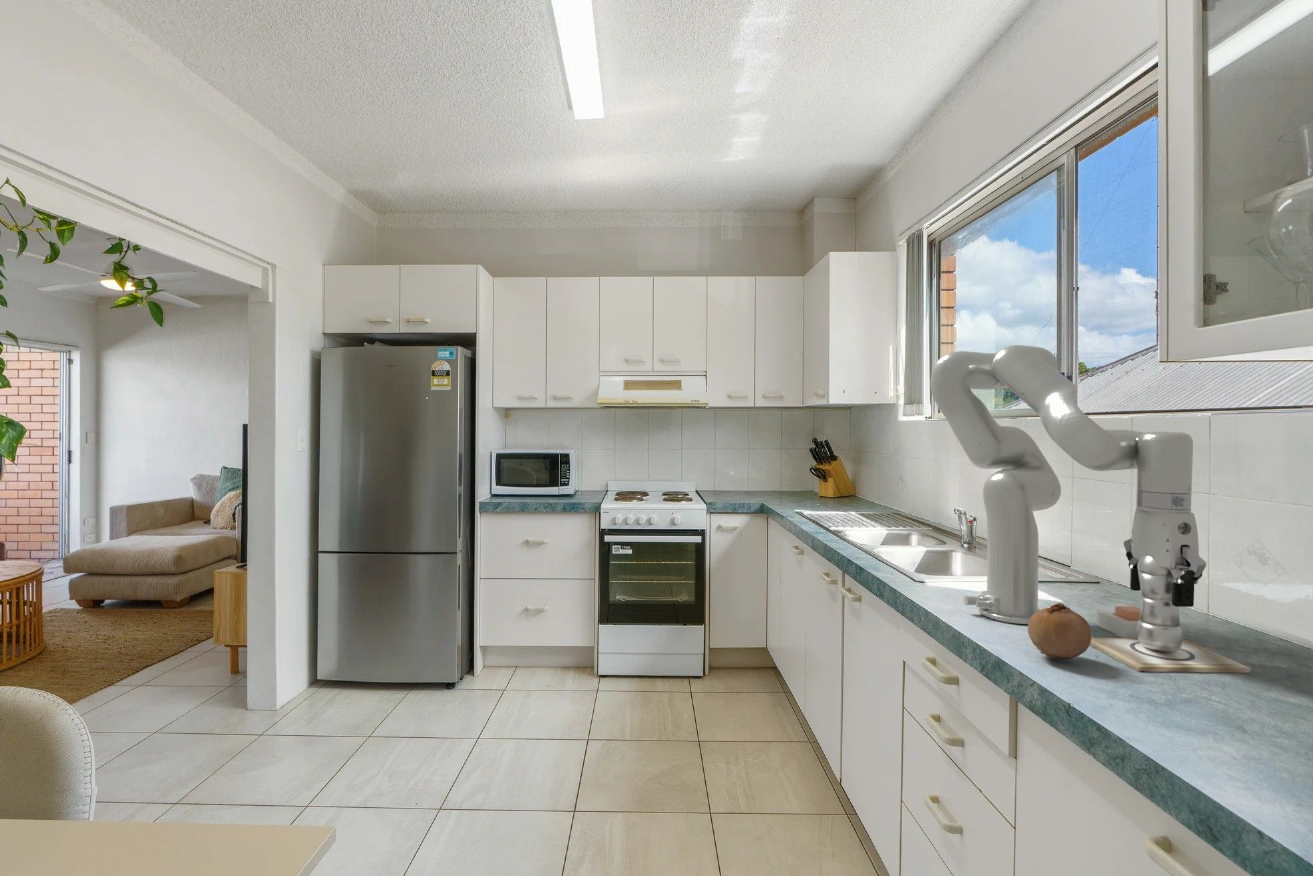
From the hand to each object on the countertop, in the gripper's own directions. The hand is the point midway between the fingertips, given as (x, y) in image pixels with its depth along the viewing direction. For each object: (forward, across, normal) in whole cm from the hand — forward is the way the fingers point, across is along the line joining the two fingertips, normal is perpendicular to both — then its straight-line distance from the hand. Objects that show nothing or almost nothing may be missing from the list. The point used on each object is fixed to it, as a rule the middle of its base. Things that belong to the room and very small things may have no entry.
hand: (1160, 597), depth 111 cm
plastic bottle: (+10, 0, 0) cm, 10 cm away
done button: (+9, +13, -4) cm, 16 cm away
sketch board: (+10, 0, 0) cm, 10 cm away
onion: (+11, -2, +19) cm, 22 cm away
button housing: (+10, +13, -4) cm, 17 cm away
